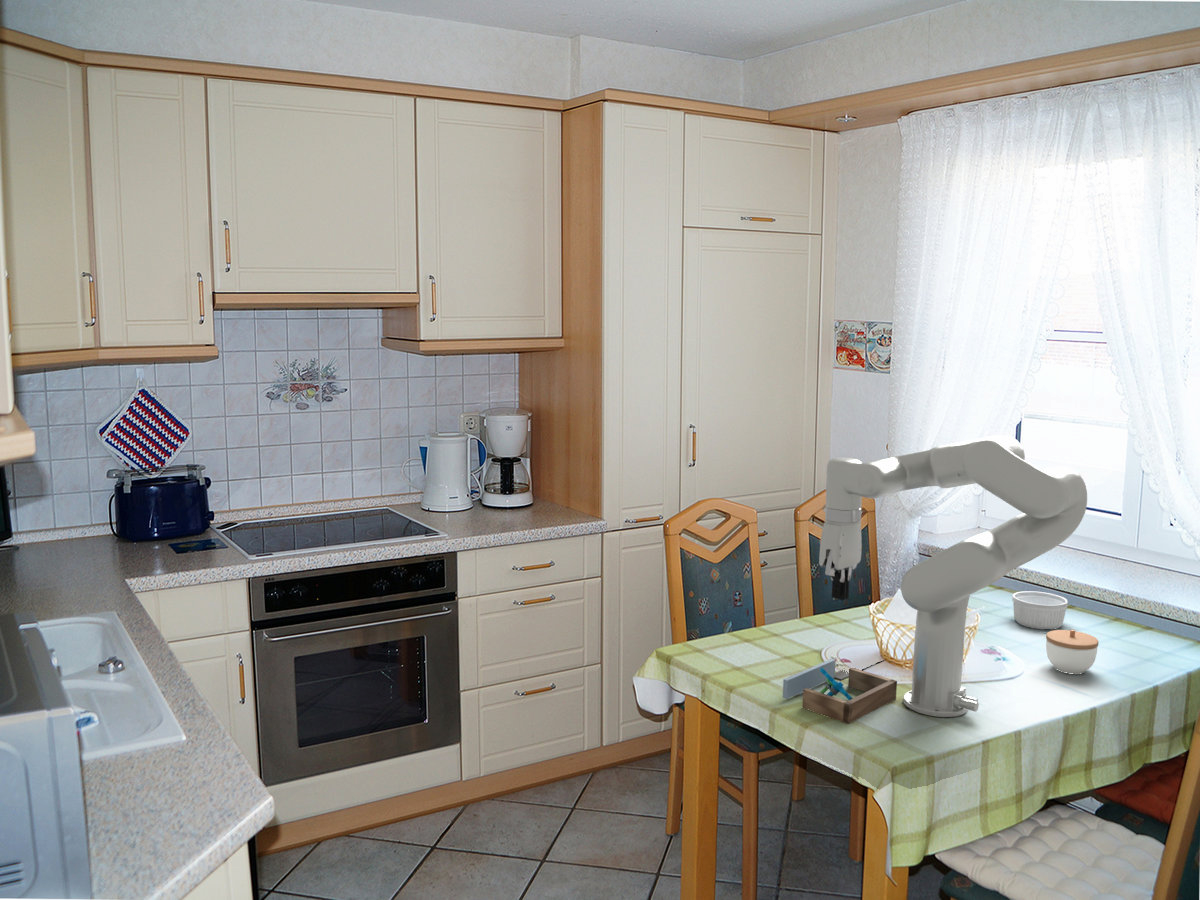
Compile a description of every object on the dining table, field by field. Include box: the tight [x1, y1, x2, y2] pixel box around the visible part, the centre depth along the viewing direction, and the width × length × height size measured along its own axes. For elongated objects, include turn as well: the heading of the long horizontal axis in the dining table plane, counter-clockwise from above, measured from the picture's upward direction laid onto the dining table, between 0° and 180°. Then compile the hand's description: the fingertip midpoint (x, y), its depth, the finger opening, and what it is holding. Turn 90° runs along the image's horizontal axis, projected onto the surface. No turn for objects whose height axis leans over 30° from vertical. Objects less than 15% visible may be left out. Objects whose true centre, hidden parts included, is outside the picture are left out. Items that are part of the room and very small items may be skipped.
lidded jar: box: [1045, 629, 1099, 674], centre depth 228 cm, size 11×11×9 cm
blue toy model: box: [819, 668, 854, 701], centre depth 208 cm, size 11×6×10 cm
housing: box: [802, 668, 898, 725], centre depth 217 cm, size 17×38×4 cm, turn 134°
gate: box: [782, 658, 837, 700], centre depth 214 cm, size 1×18×4 cm, turn 135°
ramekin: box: [1011, 590, 1069, 630], centre depth 262 cm, size 13×13×7 cm
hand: (840, 598), depth 219 cm, fingers closed
